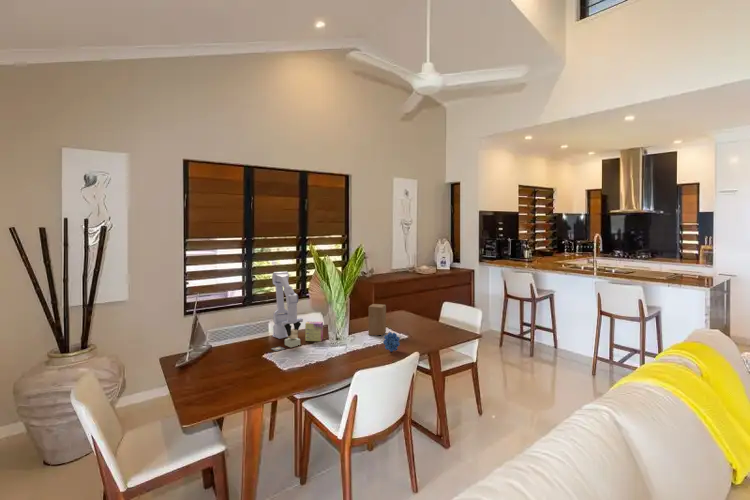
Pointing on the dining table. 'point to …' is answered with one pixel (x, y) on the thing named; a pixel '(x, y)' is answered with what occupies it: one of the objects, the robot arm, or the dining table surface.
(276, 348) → the tile
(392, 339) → the grapes
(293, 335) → the birch block
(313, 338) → the box
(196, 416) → the dining table surface
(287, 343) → the grey-green pedestal
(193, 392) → the dining table surface
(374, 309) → the wooden block
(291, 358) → the dining table surface
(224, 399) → the dining table surface
